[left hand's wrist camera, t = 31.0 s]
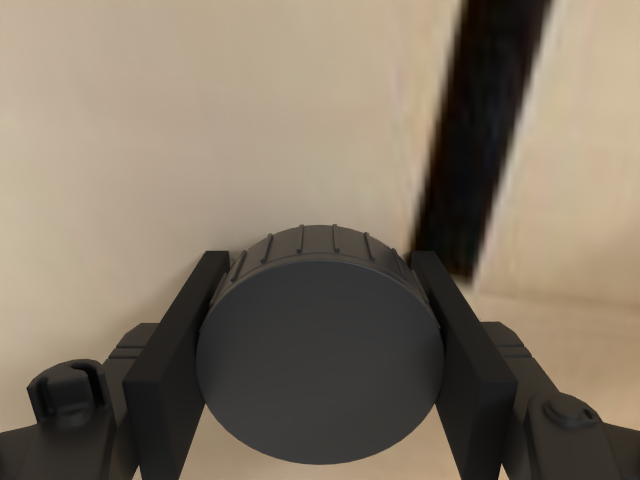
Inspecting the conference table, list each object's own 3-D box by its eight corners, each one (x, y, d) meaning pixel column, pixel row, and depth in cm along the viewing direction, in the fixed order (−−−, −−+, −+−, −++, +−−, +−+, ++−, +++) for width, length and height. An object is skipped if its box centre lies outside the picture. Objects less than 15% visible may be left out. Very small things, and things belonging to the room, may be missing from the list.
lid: (386, 422, 14) (399, 486, 12) (197, 381, 14) (173, 440, 11) (459, 254, 12) (490, 295, 10) (236, 196, 11) (216, 226, 9)
